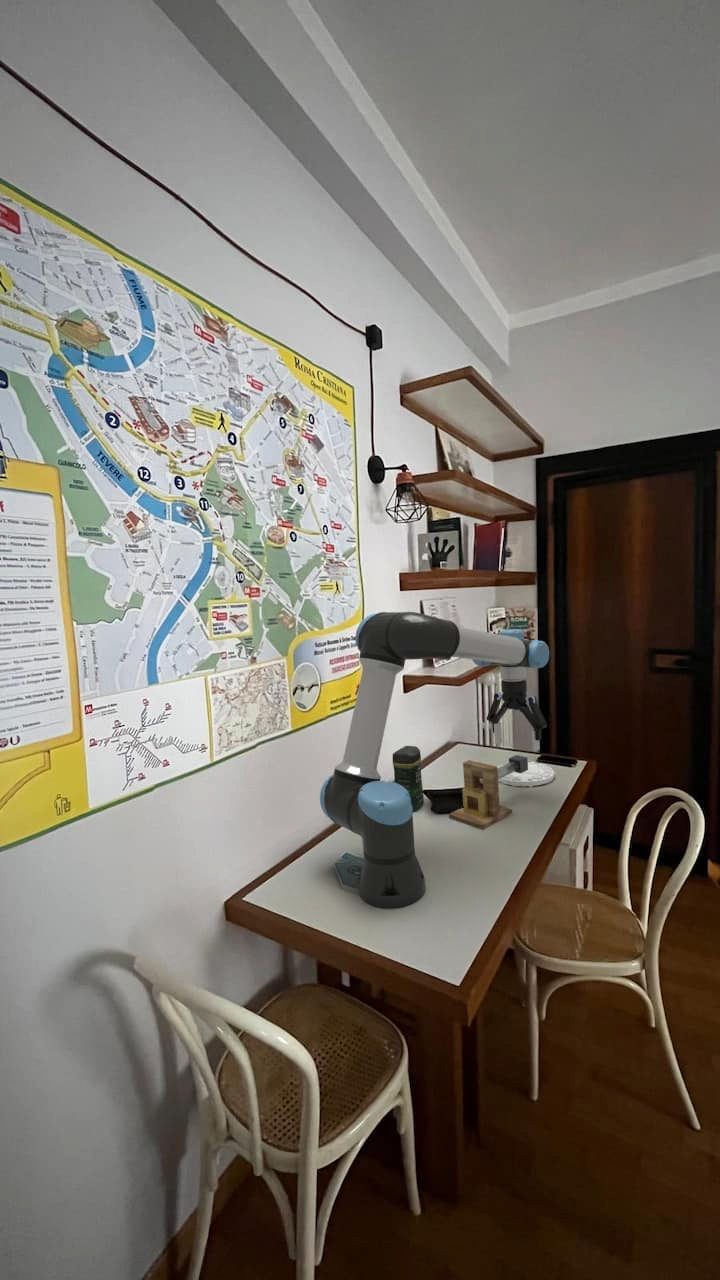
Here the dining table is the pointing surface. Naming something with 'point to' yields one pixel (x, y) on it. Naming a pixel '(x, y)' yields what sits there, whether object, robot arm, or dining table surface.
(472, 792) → the spacer
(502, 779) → the giant coin
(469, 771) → the bracket
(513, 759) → the shaft
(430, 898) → the dining table surface
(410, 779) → the coffee jar
